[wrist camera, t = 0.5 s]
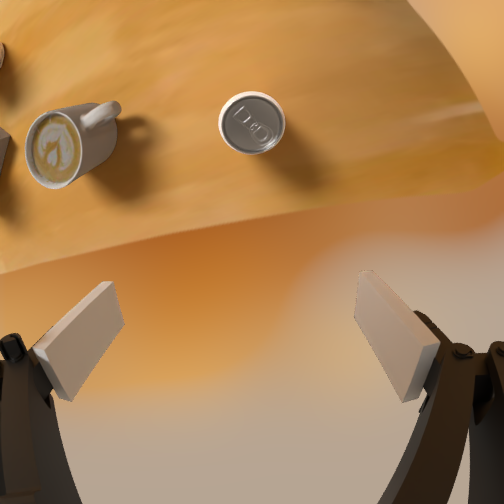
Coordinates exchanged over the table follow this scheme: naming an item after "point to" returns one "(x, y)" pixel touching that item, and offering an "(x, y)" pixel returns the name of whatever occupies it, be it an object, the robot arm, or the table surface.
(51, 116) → the coffee mug
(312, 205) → the table surface
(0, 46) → the supplement can
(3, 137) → the divider rack
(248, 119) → the can
